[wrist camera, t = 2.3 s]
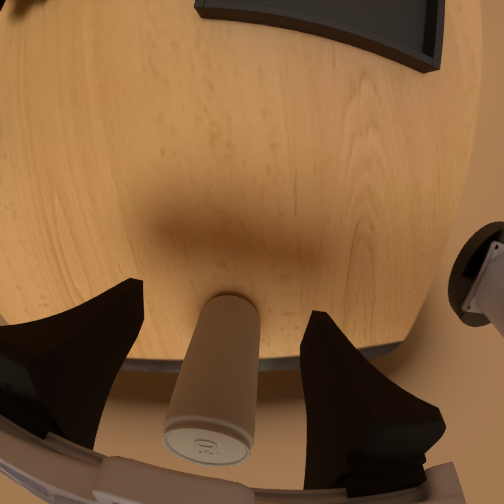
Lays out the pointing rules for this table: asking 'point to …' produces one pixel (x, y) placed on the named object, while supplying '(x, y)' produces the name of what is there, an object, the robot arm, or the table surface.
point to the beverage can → (217, 387)
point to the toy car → (0, 2)
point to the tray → (350, 23)
